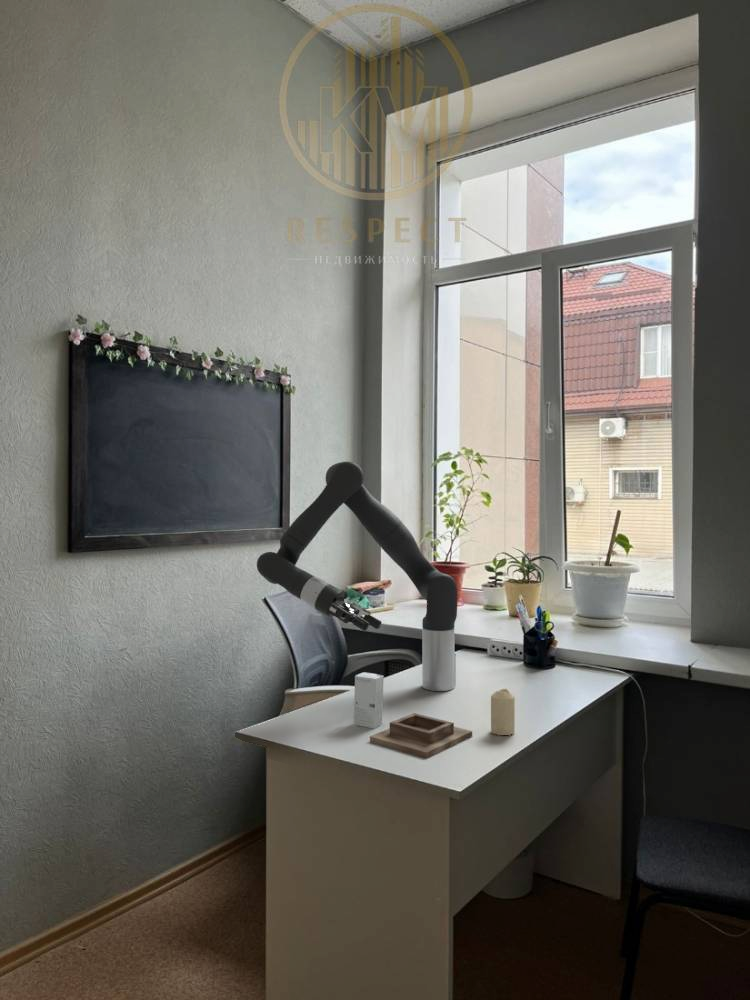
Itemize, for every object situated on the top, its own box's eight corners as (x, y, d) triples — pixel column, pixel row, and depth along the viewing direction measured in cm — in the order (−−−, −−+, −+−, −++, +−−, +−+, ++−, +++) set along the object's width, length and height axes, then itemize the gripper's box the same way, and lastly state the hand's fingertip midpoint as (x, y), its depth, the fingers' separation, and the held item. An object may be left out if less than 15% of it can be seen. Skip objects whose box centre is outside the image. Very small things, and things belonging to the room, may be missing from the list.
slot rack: (417, 722, 181) (417, 707, 181) (472, 736, 171) (472, 720, 171) (369, 741, 168) (369, 725, 168) (426, 758, 157) (426, 740, 157)
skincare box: (353, 725, 179) (353, 675, 179) (362, 719, 183) (362, 671, 183) (375, 729, 176) (375, 678, 176) (384, 723, 180) (384, 674, 180)
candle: (498, 726, 178) (498, 685, 178) (518, 731, 174) (518, 689, 174) (486, 732, 174) (486, 690, 173) (507, 737, 170) (507, 694, 170)
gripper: (316, 583, 184) (370, 614, 178) (339, 583, 198) (389, 612, 192) (303, 610, 185) (356, 641, 179) (327, 608, 198) (377, 638, 192)
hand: (373, 626), depth 185 cm, fingers open, 8 cm apart
